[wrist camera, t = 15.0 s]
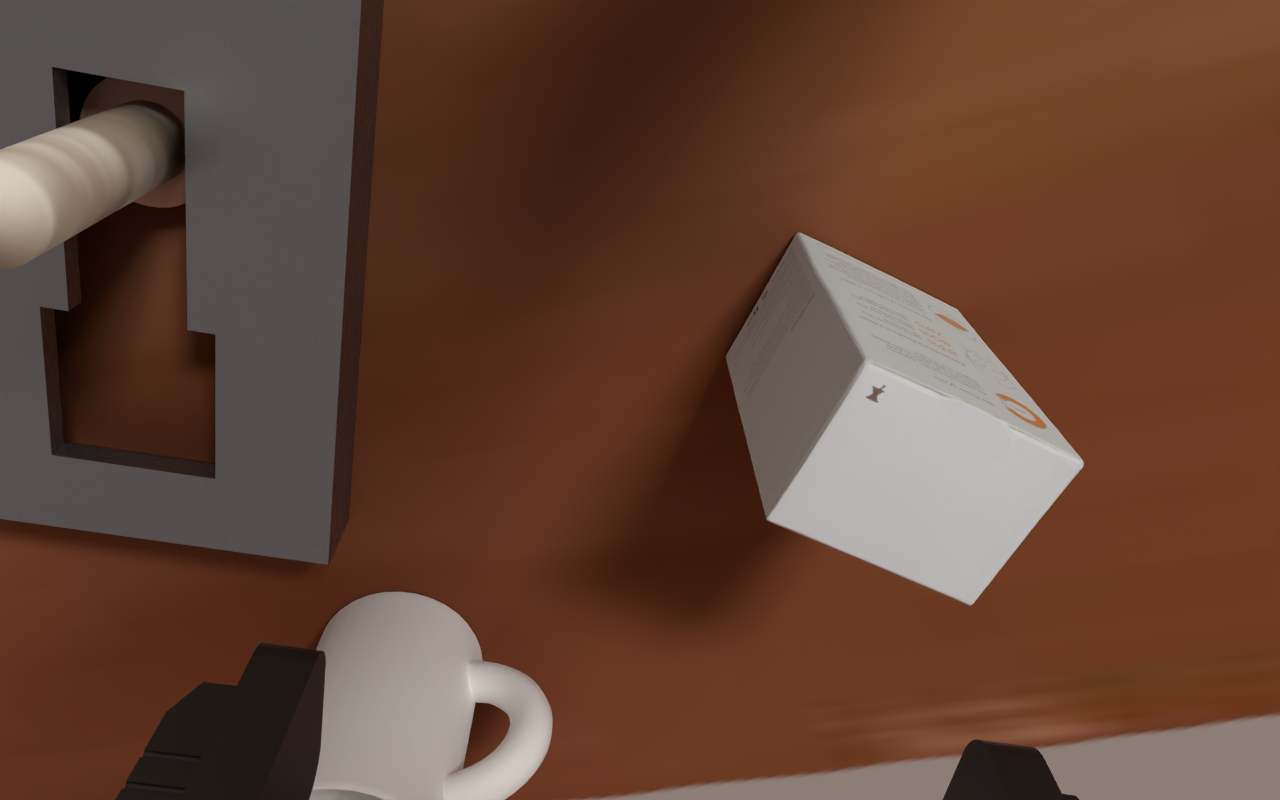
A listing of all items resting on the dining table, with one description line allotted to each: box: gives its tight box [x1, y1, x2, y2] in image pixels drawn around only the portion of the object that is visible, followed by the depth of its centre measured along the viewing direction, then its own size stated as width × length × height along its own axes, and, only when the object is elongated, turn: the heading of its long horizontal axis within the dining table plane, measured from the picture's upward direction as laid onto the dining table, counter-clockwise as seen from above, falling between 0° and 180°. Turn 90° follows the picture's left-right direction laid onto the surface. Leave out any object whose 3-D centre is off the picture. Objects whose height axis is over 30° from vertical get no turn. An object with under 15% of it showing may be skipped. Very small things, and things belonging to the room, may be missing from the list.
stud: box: [0, 77, 186, 270], centre depth 33 cm, size 5×5×12 cm
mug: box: [309, 591, 552, 800], centre depth 44 cm, size 8×12×12 cm
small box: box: [726, 233, 1084, 606], centre depth 37 cm, size 8×6×13 cm
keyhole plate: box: [0, 0, 384, 565], centre depth 39 cm, size 24×16×4 cm, turn 170°
